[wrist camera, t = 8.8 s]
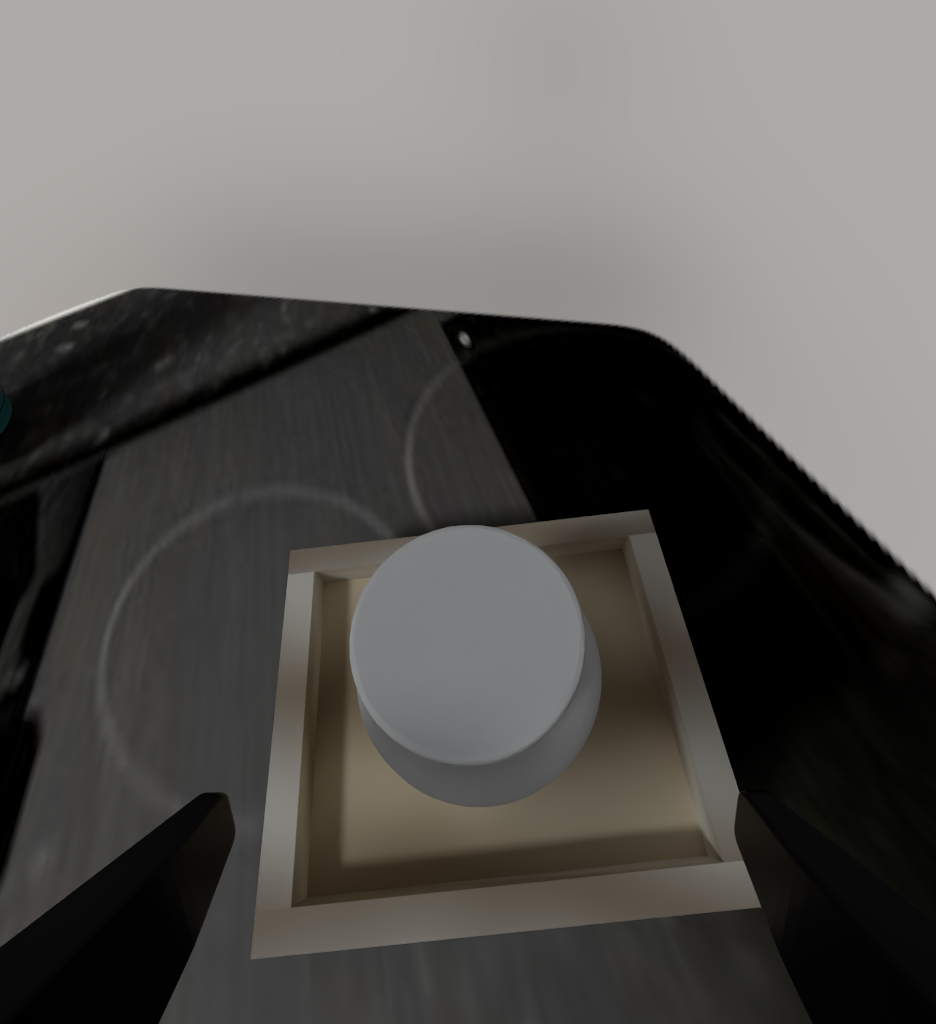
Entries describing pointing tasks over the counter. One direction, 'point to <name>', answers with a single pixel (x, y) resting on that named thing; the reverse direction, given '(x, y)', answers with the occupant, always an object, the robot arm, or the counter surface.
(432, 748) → the supplement bottle
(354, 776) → the shallow square tray
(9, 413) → the beverage bottle
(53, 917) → the robot arm
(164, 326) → the counter surface
